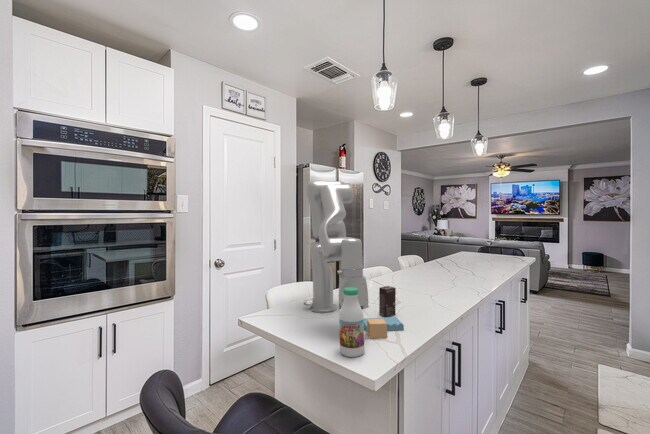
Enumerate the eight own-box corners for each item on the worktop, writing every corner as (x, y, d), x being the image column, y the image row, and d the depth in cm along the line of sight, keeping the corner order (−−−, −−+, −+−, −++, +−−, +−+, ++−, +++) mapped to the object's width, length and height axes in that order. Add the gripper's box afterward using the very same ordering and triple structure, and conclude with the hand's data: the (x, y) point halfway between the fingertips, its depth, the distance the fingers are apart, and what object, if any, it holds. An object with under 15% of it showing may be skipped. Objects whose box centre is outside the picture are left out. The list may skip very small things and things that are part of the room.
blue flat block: (366, 332, 108) (366, 325, 108) (361, 323, 117) (361, 317, 117) (403, 330, 109) (403, 324, 109) (396, 321, 118) (396, 316, 118)
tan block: (370, 338, 102) (370, 324, 102) (367, 333, 107) (366, 319, 107) (387, 337, 102) (386, 323, 102) (383, 332, 107) (383, 318, 107)
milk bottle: (338, 347, 95) (336, 286, 96) (361, 346, 96) (360, 285, 96) (341, 358, 88) (340, 291, 88) (366, 357, 88) (365, 290, 89)
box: (386, 318, 123) (385, 289, 123) (379, 315, 126) (378, 287, 127) (396, 315, 126) (396, 287, 126) (389, 312, 130) (388, 285, 130)
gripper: (332, 275, 100) (334, 330, 99) (375, 273, 101) (377, 327, 100) (330, 272, 107) (332, 323, 107) (370, 270, 108) (372, 320, 108)
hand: (354, 325), depth 103 cm, fingers closed
